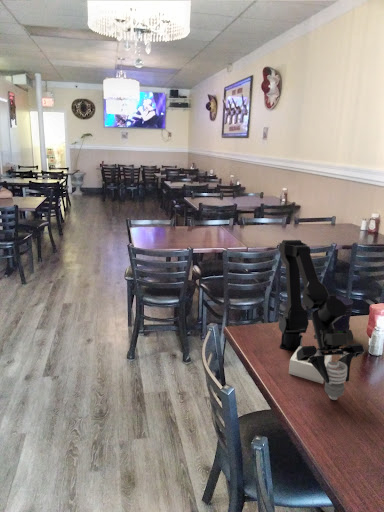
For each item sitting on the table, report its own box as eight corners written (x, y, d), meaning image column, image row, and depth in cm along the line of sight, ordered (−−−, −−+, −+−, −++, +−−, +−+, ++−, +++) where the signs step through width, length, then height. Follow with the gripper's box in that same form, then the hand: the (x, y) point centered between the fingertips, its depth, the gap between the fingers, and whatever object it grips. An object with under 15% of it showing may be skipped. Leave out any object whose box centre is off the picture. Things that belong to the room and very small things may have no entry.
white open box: (288, 373, 129) (289, 359, 127) (298, 359, 138) (299, 345, 136) (322, 383, 123) (324, 369, 122) (330, 368, 132) (332, 354, 131)
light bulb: (333, 407, 112) (338, 369, 109) (318, 396, 117) (323, 359, 114) (347, 402, 115) (352, 364, 111) (332, 391, 119) (337, 355, 116)
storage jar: (340, 329, 161) (345, 294, 157) (353, 341, 152) (358, 304, 148) (316, 330, 160) (321, 295, 156) (328, 342, 150) (333, 305, 146)
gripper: (304, 320, 112) (317, 377, 104) (366, 318, 115) (383, 373, 107) (291, 333, 122) (302, 386, 114) (348, 331, 124) (363, 382, 117)
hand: (337, 382), depth 113 cm, fingers closed on light bulb, 5 cm apart
